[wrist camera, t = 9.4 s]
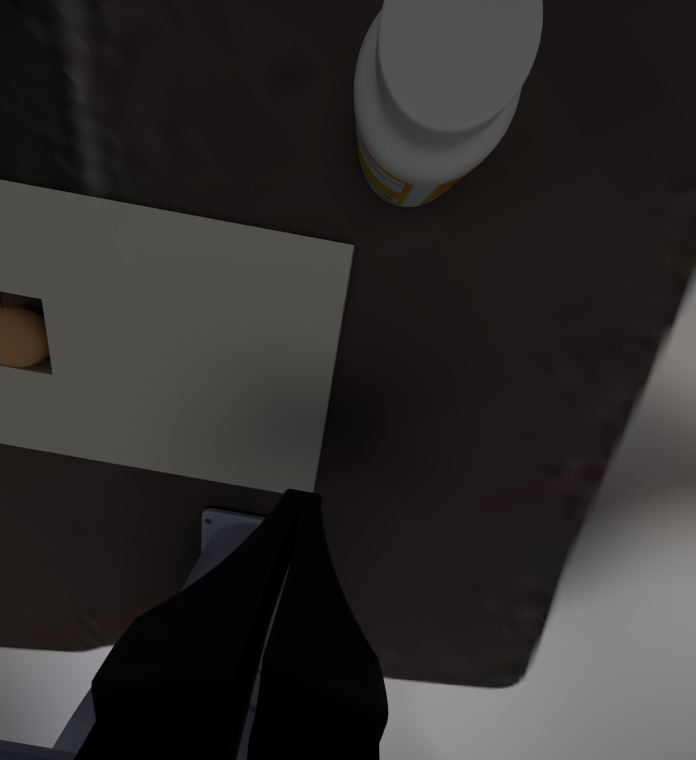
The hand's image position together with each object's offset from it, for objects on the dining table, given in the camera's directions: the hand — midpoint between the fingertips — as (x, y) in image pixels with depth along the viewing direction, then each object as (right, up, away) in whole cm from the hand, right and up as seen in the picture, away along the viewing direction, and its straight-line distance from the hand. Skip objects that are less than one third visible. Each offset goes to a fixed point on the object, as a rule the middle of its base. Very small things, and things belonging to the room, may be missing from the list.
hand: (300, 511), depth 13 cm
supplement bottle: (+5, +17, +4) cm, 18 cm away
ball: (-18, +8, +7) cm, 21 cm away
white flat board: (-12, +8, +8) cm, 16 cm away
